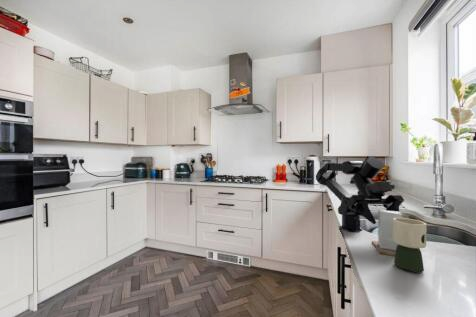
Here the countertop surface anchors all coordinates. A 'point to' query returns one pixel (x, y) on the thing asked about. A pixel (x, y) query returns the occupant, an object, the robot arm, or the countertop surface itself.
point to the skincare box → (387, 228)
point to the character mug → (409, 243)
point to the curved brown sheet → (383, 251)
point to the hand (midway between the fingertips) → (387, 223)
